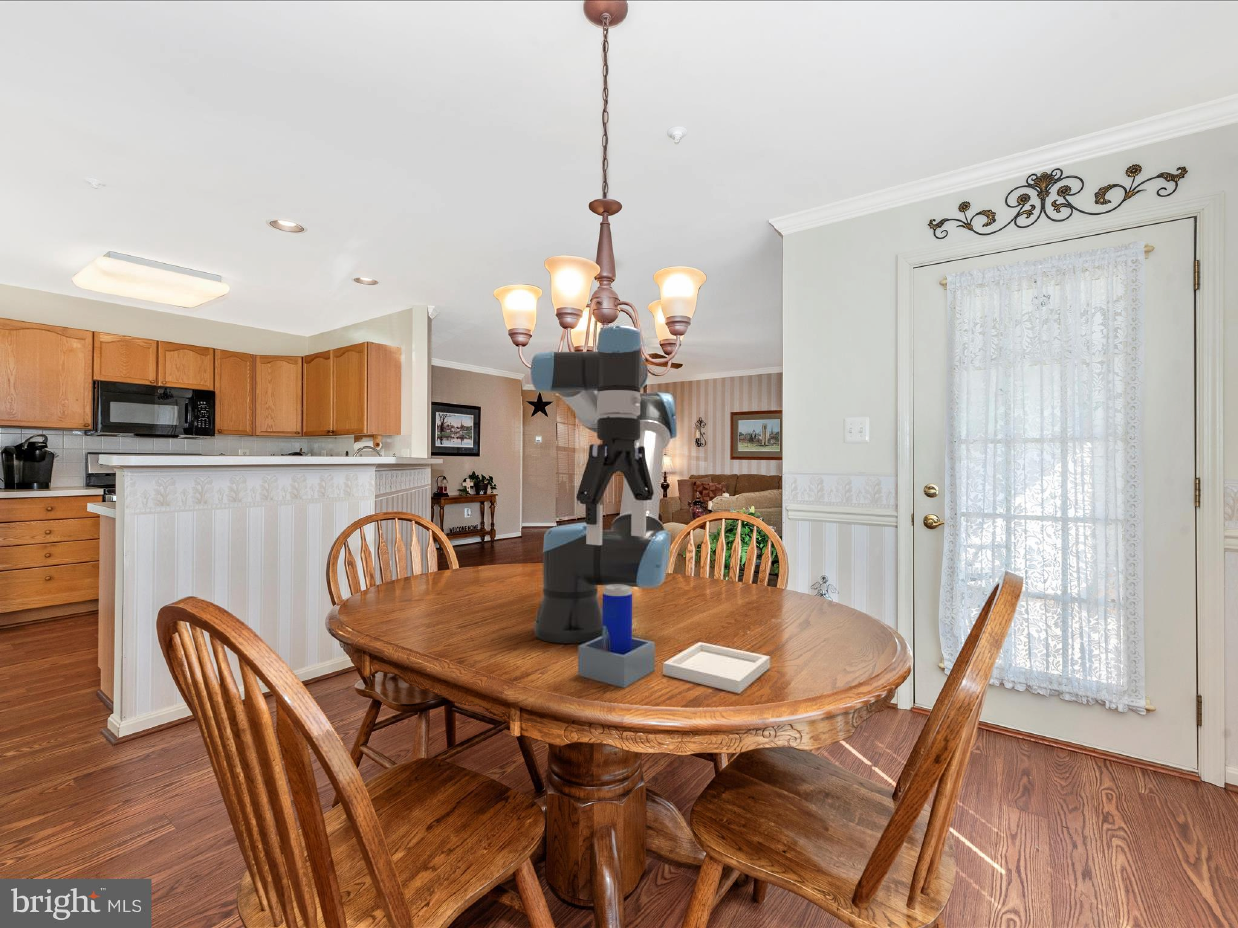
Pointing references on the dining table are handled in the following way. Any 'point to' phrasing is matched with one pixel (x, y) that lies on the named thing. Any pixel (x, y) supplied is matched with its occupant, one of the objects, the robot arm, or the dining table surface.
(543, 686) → the dining table surface
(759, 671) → the tray
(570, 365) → the robot arm
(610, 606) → the beverage can
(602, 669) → the holder sleeve
